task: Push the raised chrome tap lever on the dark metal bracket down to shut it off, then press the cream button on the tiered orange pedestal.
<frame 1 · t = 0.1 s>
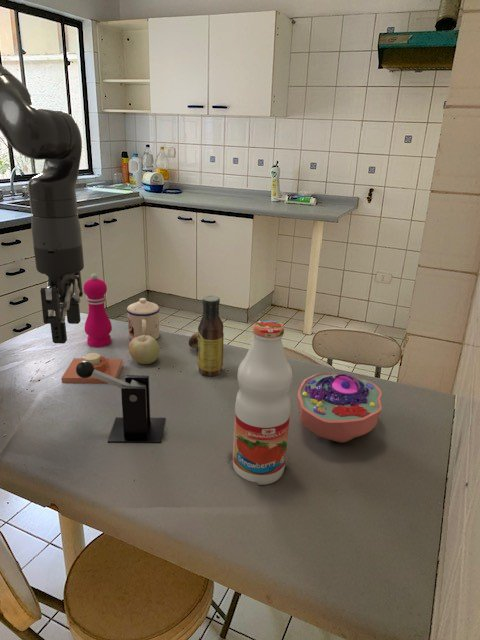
hand: (67, 332, 82), 22 cm above the table, tool pointing down, fingers open, 8 cm apart
pepper mill: (99, 343, 129), on the table
mushroom: (203, 351, 127), on the table
teacup with lid: (144, 339, 133), on the table
sauce bottle: (210, 372, 116), on the table
fruit juice: (258, 469, 83), on the table
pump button: (92, 359, 110), point 4 cm above the table, slide at 0.1 cm
fruit: (144, 362, 120), on the table
tiered orange pedestal: (93, 376, 112), on the table
cell model: (335, 430, 96), on the table
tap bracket: (137, 434, 91), on the table
tap lever: (110, 379, 86), point 12 cm above the table, hinge at 25.0°
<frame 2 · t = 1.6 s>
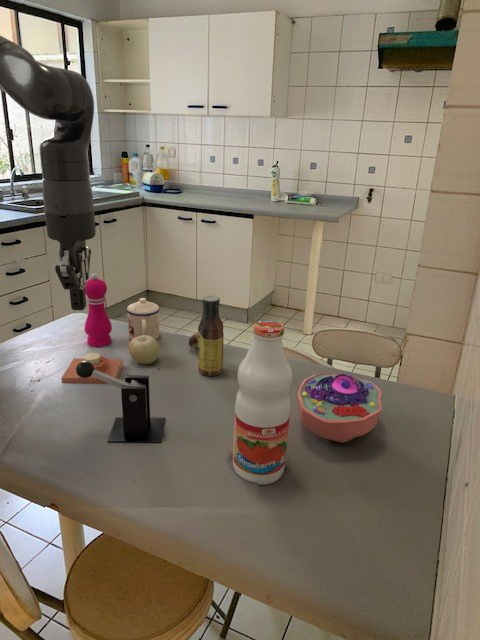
hand: (79, 308, 81), 26 cm above the table, tool pointing down, fingers closed
nothing on the table moved.
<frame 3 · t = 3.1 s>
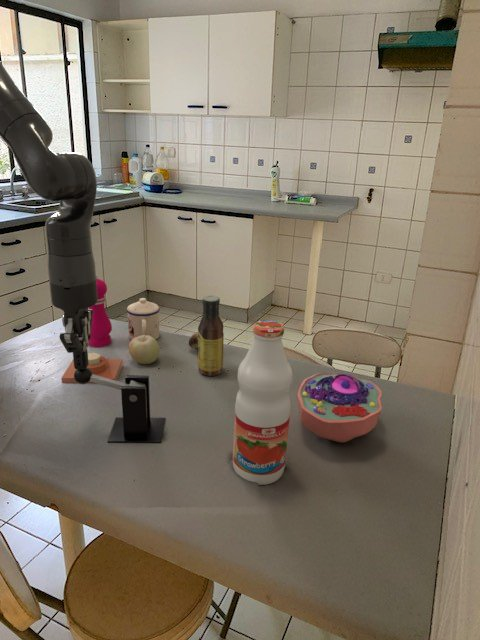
hand: (81, 367, 85), 15 cm above the table, tool pointing down, fingers closed
tap lever: (109, 382, 87), point 12 cm above the table, hinge at 17.3°, touching gripper
everything else where it was.
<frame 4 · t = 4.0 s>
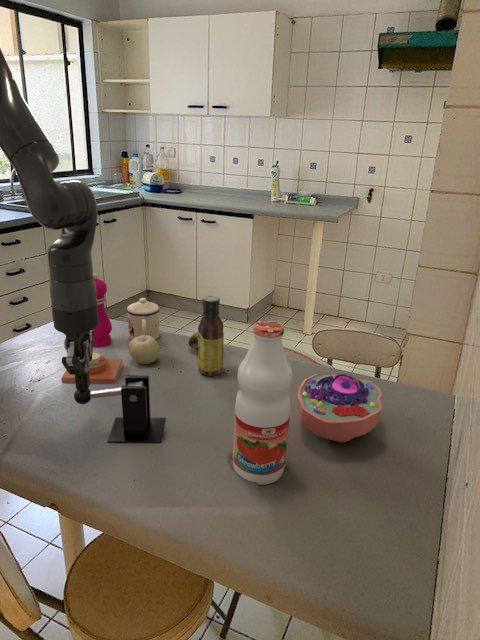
hand: (83, 388, 87), 10 cm above the table, tool pointing down, fingers closed
tap lever: (108, 392, 87), point 9 cm above the table, hinge at -7.9°, touching gripper
everything else where it was.
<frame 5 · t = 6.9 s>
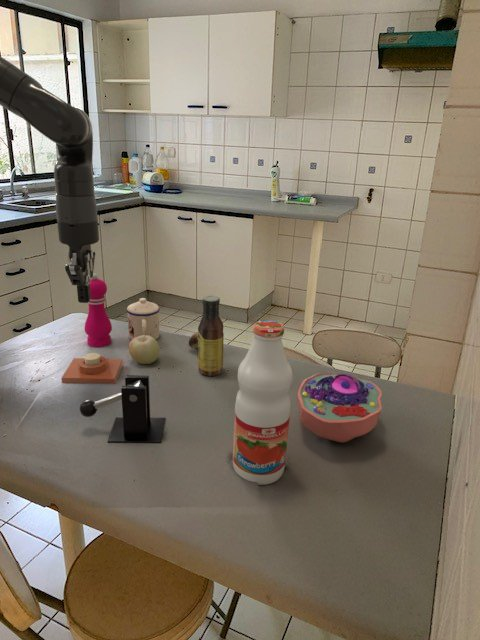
hand: (84, 301, 97), 22 cm above the table, tool pointing down, fingers closed
tap lever: (111, 399, 88), point 8 cm above the table, hinge at -24.6°
everything else where it was.
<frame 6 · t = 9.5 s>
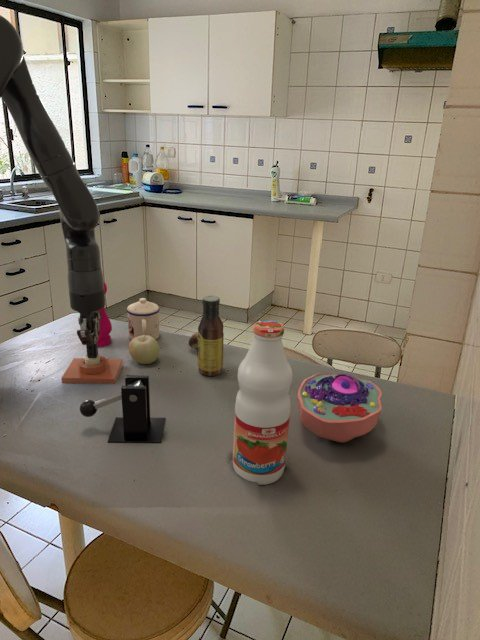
hand: (92, 356, 110), 5 cm above the table, tool pointing down, fingers closed
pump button: (92, 360, 110), point 4 cm above the table, slide at -0.1 cm, touching gripper
everything else where it was.
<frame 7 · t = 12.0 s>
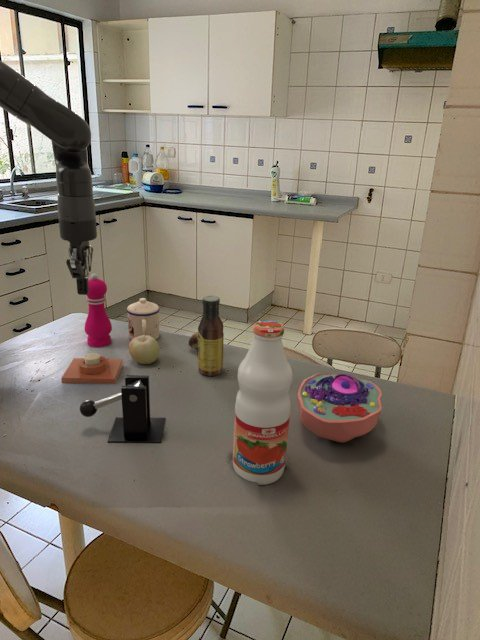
hand: (83, 293, 105), 21 cm above the table, tool pointing down, fingers closed
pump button: (92, 359, 110), point 4 cm above the table, slide at 0.1 cm
everything else where it was.
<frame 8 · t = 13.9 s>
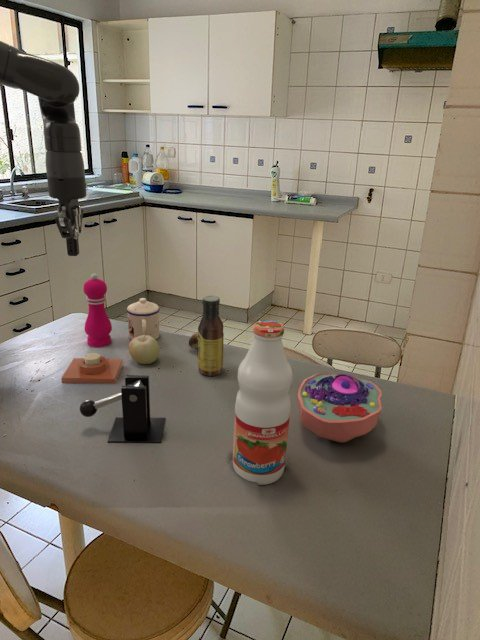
hand: (73, 255, 103), 29 cm above the table, tool pointing down, fingers closed
nothing on the table moved.
at the end: tap lever at -25° (first picture: +25°); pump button pushed in 1.1 cm at the most during the clip, back to where it started at the end; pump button slide at 0.1 cm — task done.
